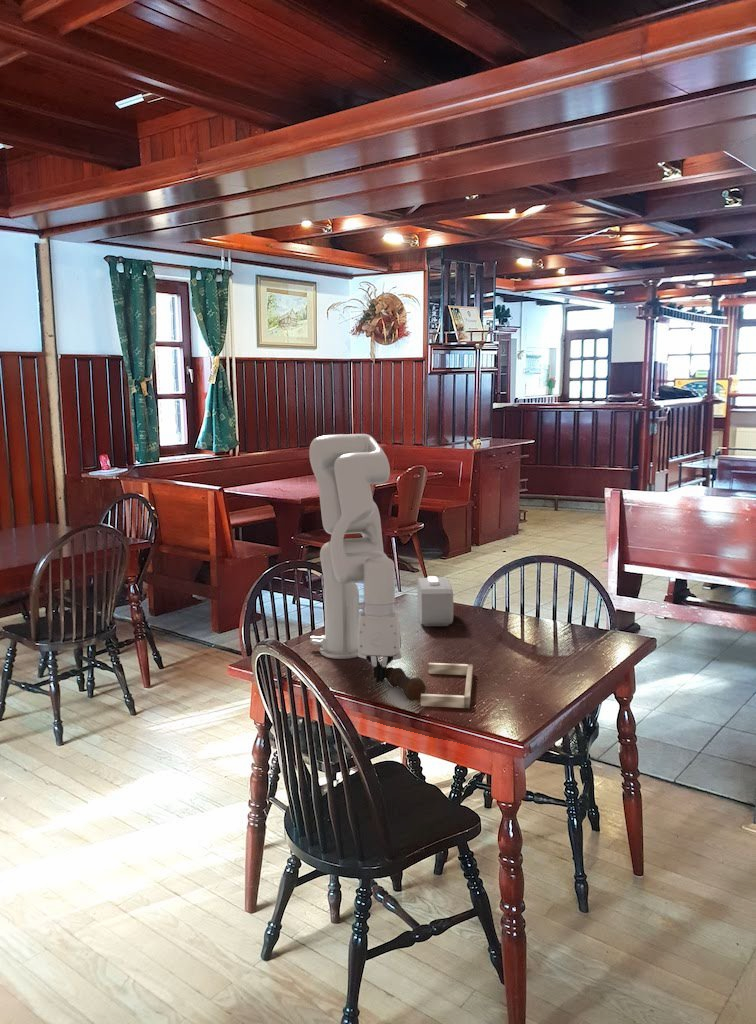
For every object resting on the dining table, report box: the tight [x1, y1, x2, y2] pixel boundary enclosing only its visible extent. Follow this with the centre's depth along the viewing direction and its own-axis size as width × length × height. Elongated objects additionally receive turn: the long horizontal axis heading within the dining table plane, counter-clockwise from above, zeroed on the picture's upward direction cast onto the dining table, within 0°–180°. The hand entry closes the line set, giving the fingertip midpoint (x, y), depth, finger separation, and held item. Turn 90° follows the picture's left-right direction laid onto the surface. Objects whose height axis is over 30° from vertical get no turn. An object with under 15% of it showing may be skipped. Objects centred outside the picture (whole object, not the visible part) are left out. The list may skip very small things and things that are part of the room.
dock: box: [420, 662, 474, 709], centre depth 198 cm, size 11×22×2 cm, turn 172°
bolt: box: [385, 666, 427, 702], centre depth 198 cm, size 6×5×15 cm
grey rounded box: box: [416, 575, 454, 627], centre depth 254 cm, size 21×10×13 cm, turn 1°
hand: (380, 680), depth 201 cm, fingers closed
